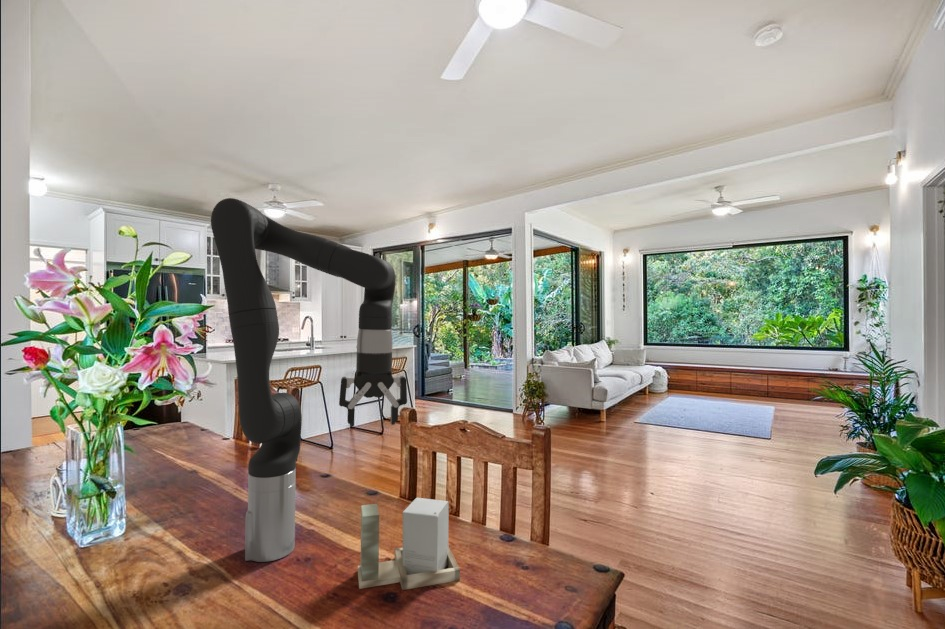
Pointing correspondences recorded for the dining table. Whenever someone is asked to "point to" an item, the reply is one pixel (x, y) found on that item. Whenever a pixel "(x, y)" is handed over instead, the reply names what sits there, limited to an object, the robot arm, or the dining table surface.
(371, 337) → the robot arm
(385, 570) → the tray with upright post
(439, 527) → the supplement box
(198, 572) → the dining table surface
